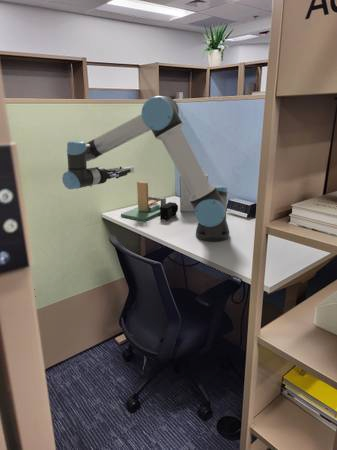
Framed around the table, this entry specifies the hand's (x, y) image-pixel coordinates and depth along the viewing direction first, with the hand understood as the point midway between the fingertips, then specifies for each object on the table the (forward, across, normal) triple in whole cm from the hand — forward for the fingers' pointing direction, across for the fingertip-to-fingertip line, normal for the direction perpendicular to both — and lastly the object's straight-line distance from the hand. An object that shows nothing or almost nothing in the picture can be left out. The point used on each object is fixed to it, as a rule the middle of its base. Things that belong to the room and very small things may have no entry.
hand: (132, 169), depth 172 cm
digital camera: (+14, +12, -26) cm, 32 cm away
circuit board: (+13, -3, -26) cm, 29 cm away
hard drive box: (+33, +15, -25) cm, 44 cm away
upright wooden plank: (+17, -3, -24) cm, 30 cm away
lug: (+23, -4, -24) cm, 34 cm away
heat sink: (+16, -3, -25) cm, 29 cm away
